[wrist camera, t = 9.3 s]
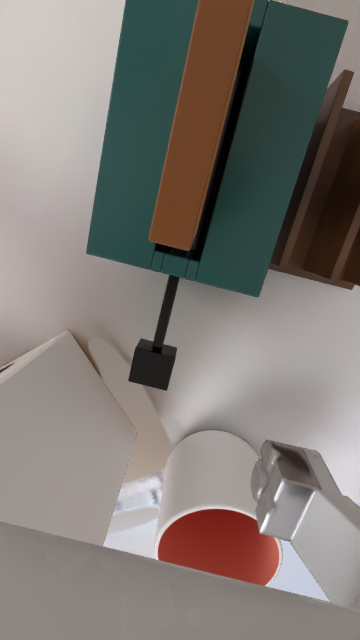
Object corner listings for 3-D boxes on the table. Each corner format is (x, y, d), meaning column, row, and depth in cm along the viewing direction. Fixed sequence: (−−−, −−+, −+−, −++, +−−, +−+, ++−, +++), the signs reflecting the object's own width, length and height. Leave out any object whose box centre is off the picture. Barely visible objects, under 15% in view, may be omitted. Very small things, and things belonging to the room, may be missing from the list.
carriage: (169, 378, 24) (166, 391, 22) (133, 369, 24) (128, 381, 22) (247, 81, 18) (253, 63, 16) (201, 69, 18) (201, 50, 16)
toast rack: (300, 101, 24) (338, 53, 18) (412, 131, 24) (490, 94, 18) (250, 263, 28) (266, 273, 21) (348, 288, 28) (393, 306, 21)
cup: (150, 473, 35) (131, 566, 25) (199, 407, 32) (198, 483, 22) (224, 515, 36) (234, 619, 26) (278, 454, 33) (310, 546, 23)
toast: (210, 71, 17) (225, -134, 7) (236, 77, 17) (283, -119, 8) (172, 235, 20) (147, 240, 10) (194, 241, 20) (190, 252, 10)
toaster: (236, 272, 28) (258, 297, 17) (119, 242, 28) (71, 250, 17) (284, 111, 24) (349, 19, 14) (150, 76, 24) (113, -43, 14)
